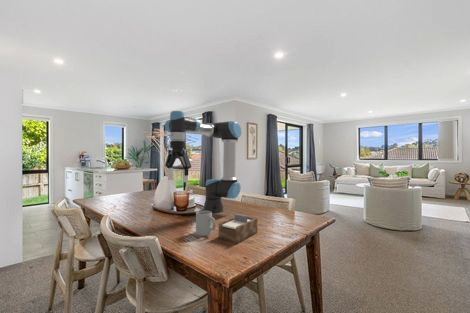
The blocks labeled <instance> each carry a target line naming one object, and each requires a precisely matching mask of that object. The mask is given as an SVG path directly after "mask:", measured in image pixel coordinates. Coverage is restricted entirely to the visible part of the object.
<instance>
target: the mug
mask: <svg viewBox="0 0 470 313" xmlns="http://www.w3.org/2000/svg"><path fill="white" fill-rule="evenodd" d="M215 229H216V219H215V218H214V217H213V213H212V212H211V211H203V210H198V211H196V212H195V235H196V236H199V237H205V236H206V237H207V236H211V235H212V233H213V231H214V230H215Z"/></svg>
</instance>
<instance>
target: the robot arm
mask: <svg viewBox="0 0 470 313" xmlns="http://www.w3.org/2000/svg"><path fill="white" fill-rule="evenodd" d="M164 129H165V130H166V132H167V133H170V136H169V137H170V142H169V143H170V144H169V145H170V146H169V147H170V149H168V153H167V157H166V161H165V165H164V166H165V167H166V168H167V181H172V180H173V181H174V164H175V162H176V160H179V162H180V164H181V166H182V167H183V168H182V183H188V182H189V169H191V168H192V164H191V161H190V160H191V159H190V157H189V153H188V149H185V147H186V142H185V140H186V134H191V135H192V134H193V135H203V136H205V137H209V138H214V139H221V142H222V143H223V159H222V163H223V164H222V171H223V173H222V177H221V178H213V179H207V180H206V181H205V184H204V185H205V201H204V205H203V208H202V209H203V210H204V211H211V212H212V214H214V213H216V214H217V213H220V212H223V211H224V203H223V201H222V199H223V198H224V199H236V198H238V197H239V195H240V193H241V189H242V188H241V187H242V186H241V184H240V182H238V178H237V177H236V153H237V152H236V148H237V144H236V143H237V142H238V140H239V138H240V137H241V136H242V127H241V126H240V123H239V122H237V121H235V120H234V121H233V120H231V121H220V122H212V123H210V122H209V123H208V122H207V123H201V120H200V119H198V118H195V117H189V116H186V113H185V112H184V111H183V110H172V111H171V112H170V115H169V120H166V121H165V122H164ZM203 210H202V211H203Z"/></svg>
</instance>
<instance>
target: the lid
mask: <svg viewBox="0 0 470 313" xmlns="http://www.w3.org/2000/svg"><path fill="white" fill-rule="evenodd" d="M233 217H234V220H232V221H230V222H227V223H225V224H223V225H222V226H223V227H227V228H231V229H236V227H237V226H239V225H241V224H244V223H246V222H248V221H250V219H247V217H248V215H245V214H240V213H235V214H234V216H233Z"/></svg>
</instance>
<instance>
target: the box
mask: <svg viewBox="0 0 470 313" xmlns="http://www.w3.org/2000/svg"><path fill="white" fill-rule="evenodd" d="M247 219H250V221H248V222H246V223H244V224H241V225H239V226H237V227H236V229H231V228H227V227H223V226H222V225H223V224H225V223H227V222H230V221H232V220H234V216H232V217H229V218H228V219H225V220H223V221H221V222H218V239H220V240H225V241H228V242H231V243H236V244H241V243H242V242H244V241H245V240H247V239H249V238H250V237H252V236H254V235H256V234H257V233H258V218H256V217H251V216H247Z"/></svg>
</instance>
